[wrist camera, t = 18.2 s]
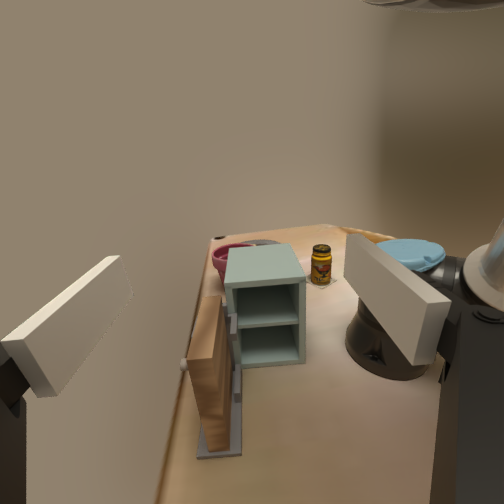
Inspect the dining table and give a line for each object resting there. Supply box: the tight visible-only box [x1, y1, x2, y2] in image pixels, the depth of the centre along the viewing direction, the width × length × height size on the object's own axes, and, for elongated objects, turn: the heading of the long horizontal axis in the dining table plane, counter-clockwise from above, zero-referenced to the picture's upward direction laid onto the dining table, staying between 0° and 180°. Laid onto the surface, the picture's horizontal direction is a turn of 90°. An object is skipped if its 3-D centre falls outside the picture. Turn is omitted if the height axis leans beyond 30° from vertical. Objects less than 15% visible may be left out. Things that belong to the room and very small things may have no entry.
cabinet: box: [191, 243, 306, 459], centre depth 45 cm, size 20×31×20 cm, turn 2°
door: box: [180, 296, 233, 453], centre depth 37 cm, size 4×13×18 cm, turn 2°
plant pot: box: [212, 243, 254, 288], centre depth 75 cm, size 14×14×13 cm
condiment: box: [306, 244, 336, 289], centre depth 76 cm, size 7×8×12 cm
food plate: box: [241, 240, 281, 246], centre depth 101 cm, size 25×23×4 cm
